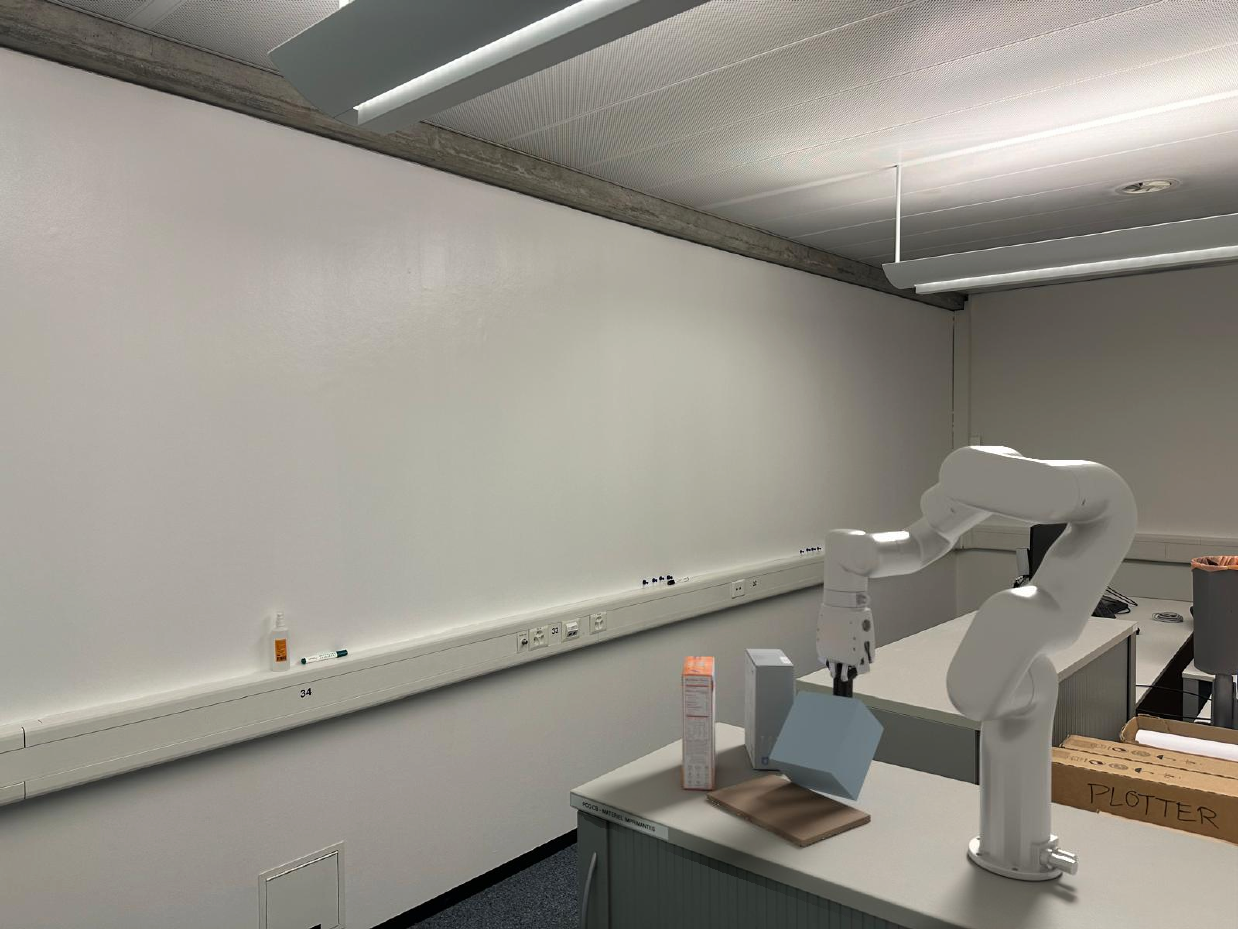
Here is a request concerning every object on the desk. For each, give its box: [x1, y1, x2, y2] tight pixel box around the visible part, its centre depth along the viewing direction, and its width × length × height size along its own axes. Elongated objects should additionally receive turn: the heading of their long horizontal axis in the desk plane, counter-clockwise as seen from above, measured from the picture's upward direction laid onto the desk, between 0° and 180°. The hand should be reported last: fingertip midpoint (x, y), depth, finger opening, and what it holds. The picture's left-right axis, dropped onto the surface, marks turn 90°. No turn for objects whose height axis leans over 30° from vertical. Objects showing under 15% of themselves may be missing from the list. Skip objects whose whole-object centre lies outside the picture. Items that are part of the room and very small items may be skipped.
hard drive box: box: [744, 648, 795, 770], centre depth 168 cm, size 16×8×20 cm, turn 179°
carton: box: [769, 689, 885, 802], centre depth 149 cm, size 13×14×9 cm
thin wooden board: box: [706, 773, 872, 848], centre depth 142 cm, size 22×16×1 cm
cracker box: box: [681, 655, 716, 791], centre depth 157 cm, size 14×6×21 cm, turn 172°
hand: (842, 700), depth 152 cm, fingers closed
